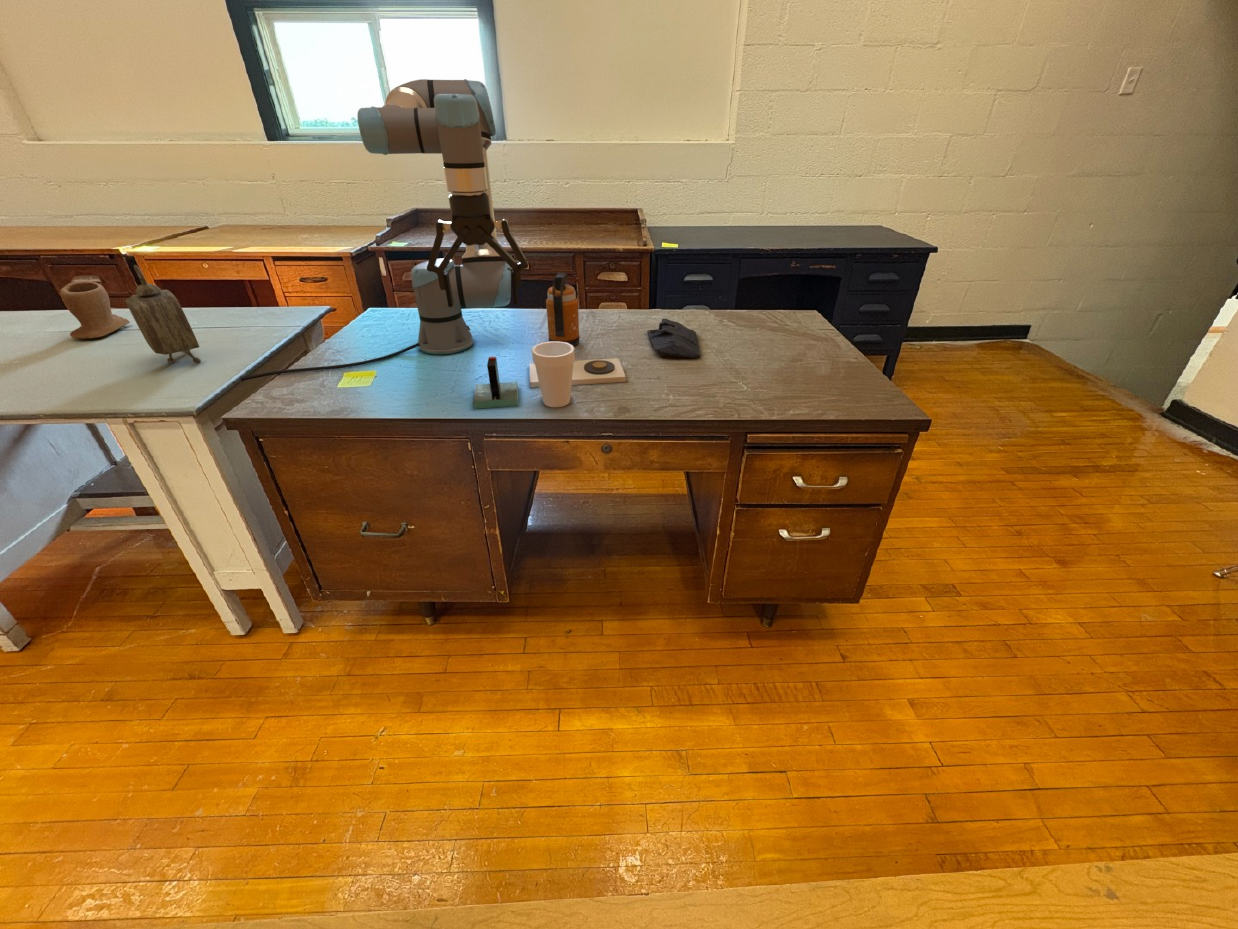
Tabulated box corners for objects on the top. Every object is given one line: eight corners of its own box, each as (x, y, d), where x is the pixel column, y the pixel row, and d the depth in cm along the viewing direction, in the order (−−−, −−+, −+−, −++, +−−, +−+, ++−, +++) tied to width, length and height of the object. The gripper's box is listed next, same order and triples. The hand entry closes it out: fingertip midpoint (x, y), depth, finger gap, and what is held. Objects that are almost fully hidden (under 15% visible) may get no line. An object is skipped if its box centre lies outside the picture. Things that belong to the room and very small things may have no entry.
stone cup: (107, 341, 153) (77, 290, 145) (66, 341, 153) (34, 289, 145) (145, 324, 166) (120, 275, 157) (107, 324, 166) (80, 275, 157)
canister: (581, 338, 158) (579, 270, 146) (575, 352, 149) (572, 280, 137) (552, 337, 158) (547, 269, 147) (544, 350, 149) (539, 279, 138)
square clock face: (474, 409, 120) (472, 400, 119) (477, 391, 127) (475, 383, 126) (518, 406, 121) (517, 397, 120) (518, 389, 128) (517, 381, 127)
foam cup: (544, 413, 118) (540, 359, 111) (531, 397, 125) (525, 345, 118) (582, 404, 122) (580, 352, 114) (567, 389, 129) (564, 338, 121)
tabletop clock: (208, 363, 140) (162, 267, 126) (167, 373, 135) (115, 274, 121) (193, 349, 149) (149, 257, 135) (154, 358, 143) (104, 263, 129)
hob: (530, 387, 129) (529, 378, 128) (530, 368, 139) (529, 359, 138) (625, 381, 132) (625, 372, 131) (618, 363, 142) (618, 354, 141)
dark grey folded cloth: (647, 359, 145) (648, 342, 142) (647, 331, 163) (647, 316, 160) (702, 360, 144) (704, 343, 142) (696, 332, 162) (697, 317, 160)
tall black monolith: (499, 395, 121) (495, 364, 117) (491, 395, 121) (487, 364, 117) (500, 386, 125) (496, 356, 121) (492, 387, 125) (488, 356, 120)
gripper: (533, 189, 104) (541, 296, 116) (404, 191, 101) (426, 300, 113) (534, 194, 98) (542, 306, 110) (396, 196, 95) (420, 311, 107)
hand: (483, 303), depth 111 cm, fingers open, 13 cm apart
